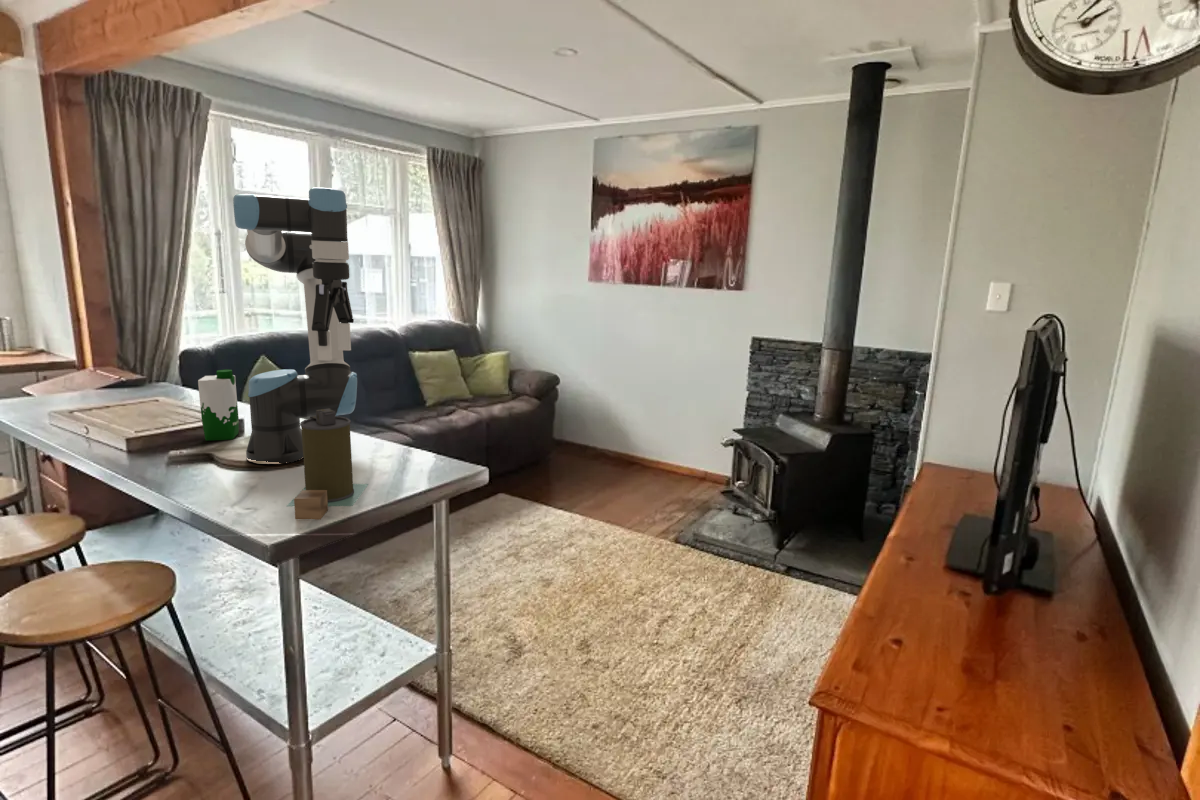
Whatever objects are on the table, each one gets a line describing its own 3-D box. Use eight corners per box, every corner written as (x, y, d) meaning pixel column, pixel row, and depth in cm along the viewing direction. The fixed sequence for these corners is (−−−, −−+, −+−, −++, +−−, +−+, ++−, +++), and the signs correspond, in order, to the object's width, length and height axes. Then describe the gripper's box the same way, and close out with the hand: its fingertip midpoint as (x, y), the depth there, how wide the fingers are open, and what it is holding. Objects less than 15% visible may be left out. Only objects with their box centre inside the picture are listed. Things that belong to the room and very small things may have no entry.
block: (304, 512, 135) (302, 490, 134) (328, 511, 135) (326, 490, 134) (295, 521, 130) (293, 498, 129) (320, 521, 131) (319, 498, 129)
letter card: (308, 485, 150) (308, 483, 150) (368, 485, 152) (368, 483, 152) (286, 507, 136) (286, 506, 136) (352, 507, 138) (352, 505, 138)
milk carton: (235, 440, 183) (229, 373, 178) (200, 441, 180) (193, 373, 176) (242, 432, 191) (237, 367, 187) (209, 433, 188) (202, 368, 184)
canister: (362, 495, 144) (358, 411, 140) (317, 506, 137) (312, 418, 132) (340, 482, 151) (336, 402, 147) (296, 493, 144) (290, 408, 139)
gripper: (332, 259, 151) (336, 345, 156) (290, 261, 127) (297, 364, 132) (364, 260, 152) (367, 347, 157) (329, 263, 128) (334, 365, 133)
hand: (335, 355), depth 144 cm, fingers open, 13 cm apart
